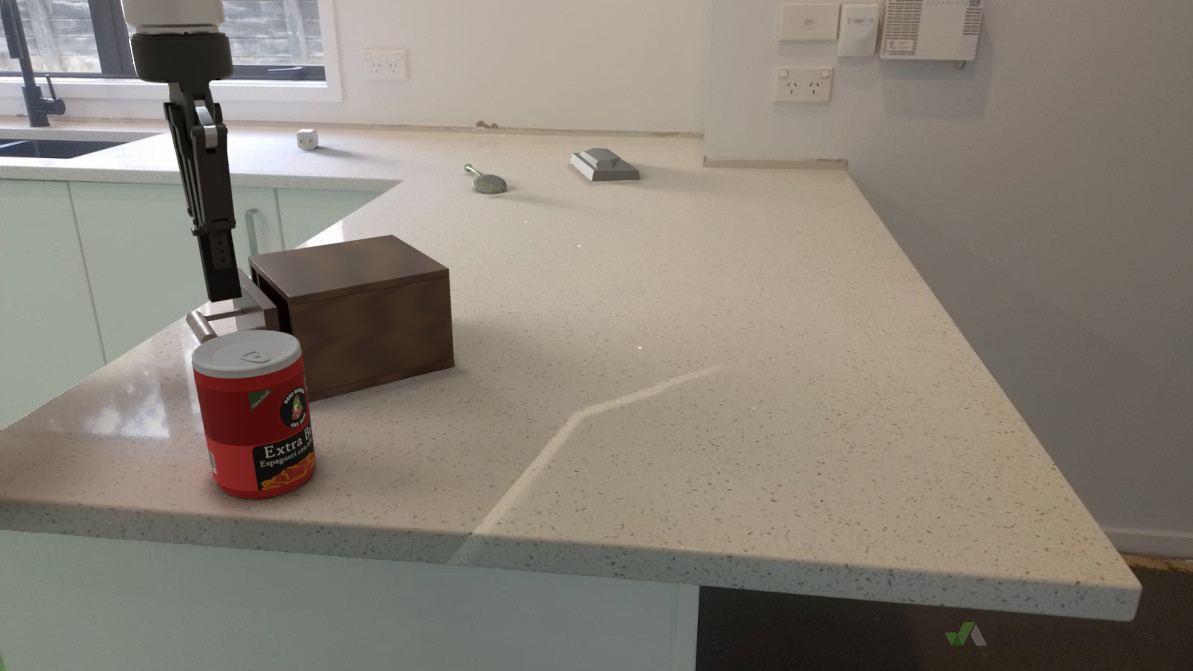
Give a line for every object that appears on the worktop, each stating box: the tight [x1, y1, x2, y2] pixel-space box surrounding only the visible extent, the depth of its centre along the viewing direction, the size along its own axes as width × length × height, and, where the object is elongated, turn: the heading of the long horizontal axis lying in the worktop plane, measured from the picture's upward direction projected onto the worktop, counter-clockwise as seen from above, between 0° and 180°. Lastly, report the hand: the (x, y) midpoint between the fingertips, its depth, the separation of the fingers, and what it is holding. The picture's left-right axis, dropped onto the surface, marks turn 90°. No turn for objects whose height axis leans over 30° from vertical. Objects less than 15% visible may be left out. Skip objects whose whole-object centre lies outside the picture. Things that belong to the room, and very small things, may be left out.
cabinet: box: [247, 234, 455, 403], centre depth 86 cm, size 16×15×11 cm
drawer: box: [185, 267, 292, 345], centre depth 84 cm, size 20×13×9 cm
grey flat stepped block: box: [569, 147, 640, 182], centre depth 180 cm, size 10×20×4 cm, turn 14°
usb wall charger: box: [295, 128, 319, 150], centre depth 199 cm, size 4×7×4 cm, turn 7°
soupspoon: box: [463, 163, 508, 195], centre depth 168 cm, size 22×3×7 cm
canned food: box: [191, 330, 316, 500], centre depth 65 cm, size 8×8×11 cm
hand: (225, 297), depth 79 cm, fingers closed
